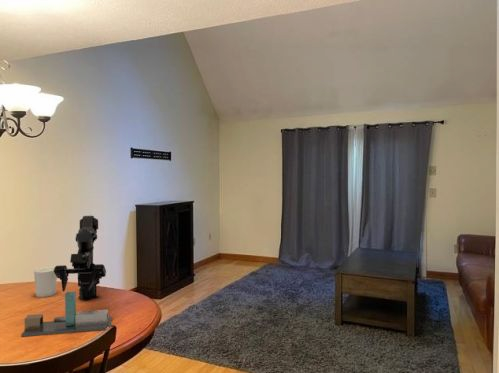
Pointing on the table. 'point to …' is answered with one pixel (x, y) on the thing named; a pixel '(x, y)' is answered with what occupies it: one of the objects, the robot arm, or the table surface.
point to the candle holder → (45, 281)
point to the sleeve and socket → (82, 323)
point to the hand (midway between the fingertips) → (75, 290)
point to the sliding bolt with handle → (68, 309)
